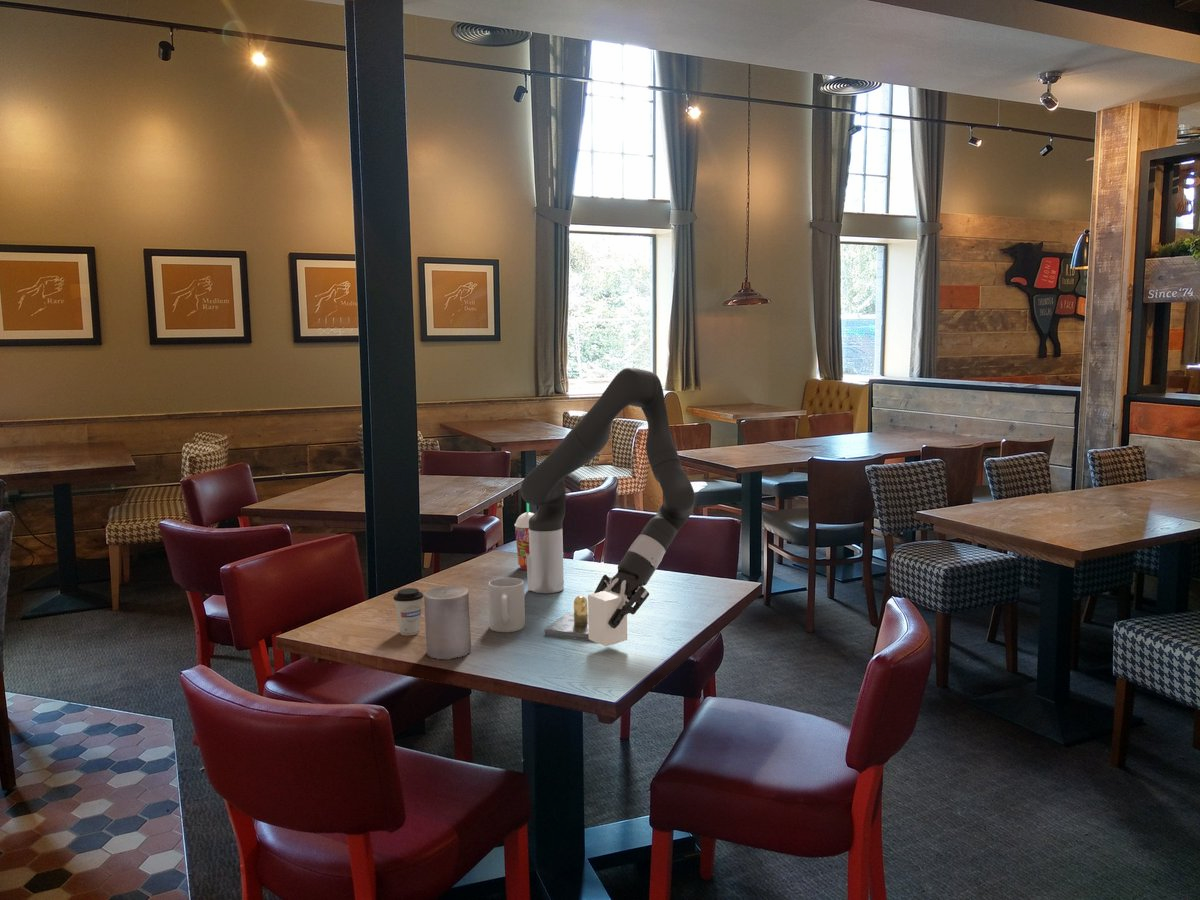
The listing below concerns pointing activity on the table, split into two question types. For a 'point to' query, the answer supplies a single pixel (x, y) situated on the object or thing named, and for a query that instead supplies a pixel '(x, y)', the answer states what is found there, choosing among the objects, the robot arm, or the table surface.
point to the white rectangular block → (605, 618)
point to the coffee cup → (408, 610)
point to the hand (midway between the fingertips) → (601, 622)
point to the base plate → (572, 622)
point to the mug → (506, 605)
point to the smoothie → (523, 538)
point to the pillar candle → (447, 622)
